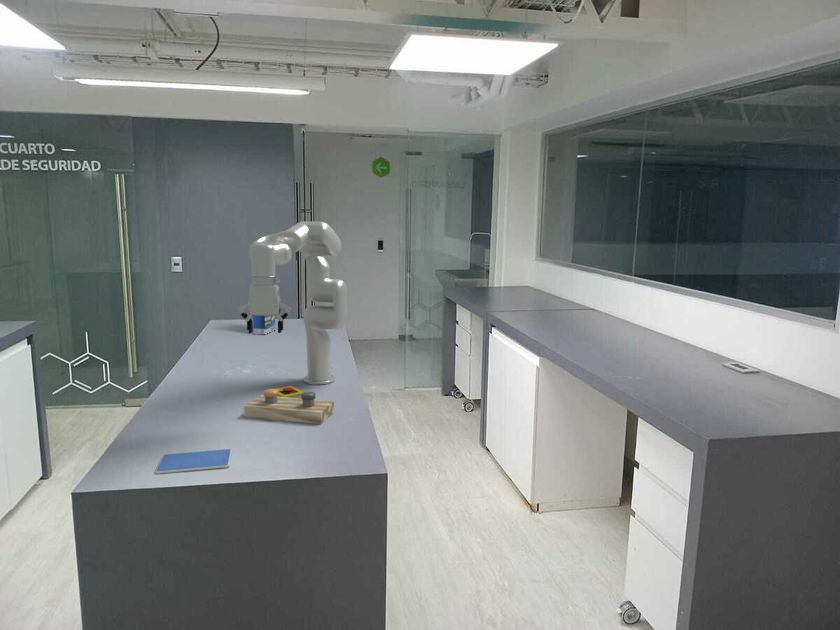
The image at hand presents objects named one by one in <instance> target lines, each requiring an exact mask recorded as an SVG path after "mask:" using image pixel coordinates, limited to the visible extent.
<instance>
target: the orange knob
mask: <svg viewBox="0 0 840 630" xmlns="http://www.w3.org/2000/svg"><path fill="white" fill-rule="evenodd" d="M263 395H264V396H265V403H269V404H274V403H276V402H277V395H278V390H277V388H267V389H265V390H263Z"/></svg>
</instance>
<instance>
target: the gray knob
mask: <svg viewBox="0 0 840 630" xmlns="http://www.w3.org/2000/svg"><path fill="white" fill-rule="evenodd" d="M303 392H304V393H302V394H301V399H302V400H303V407H312V406H314V400H316V392H314V391H303Z"/></svg>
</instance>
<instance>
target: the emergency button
mask: <svg viewBox="0 0 840 630" xmlns="http://www.w3.org/2000/svg"><path fill="white" fill-rule="evenodd" d="M276 389H277V390H278V395H277V397H288V398H300V399H301V394H302V393H304V392H305V391H302V390H300V389H299V388H296V387H294V386H292V385H287V386H283V387H278V388H276Z"/></svg>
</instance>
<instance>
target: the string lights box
mask: <svg viewBox="0 0 840 630" xmlns="http://www.w3.org/2000/svg"><path fill="white" fill-rule="evenodd" d="M252 320H253V335H258V334H266V335H268V334H270V333H269V332H271V333H273V332H275V331H274V330H276V316H253V317H252ZM272 331H273V332H272ZM267 333H268V334H267Z"/></svg>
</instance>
